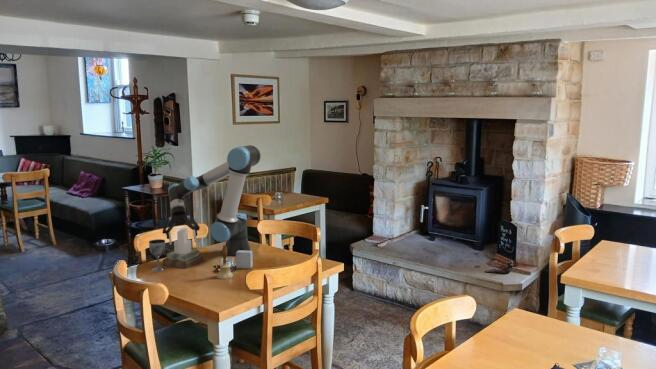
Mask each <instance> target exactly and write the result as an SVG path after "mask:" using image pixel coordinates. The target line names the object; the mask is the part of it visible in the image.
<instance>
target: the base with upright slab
mask: <svg viewBox="0 0 656 369" xmlns="http://www.w3.org/2000/svg"><path fill="white" fill-rule="evenodd" d="M188 232H189V231H188V227H182V228H180V229H179V230H178V231H177V233H176V234H177V235H176V236H177V239H175V240H174V241H173V247H174V248H173V251H174V253H176V254H187V253H190V252H191V251H192V240H191V239H189V238H188V237H189V235H188Z"/></svg>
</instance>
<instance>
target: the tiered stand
mask: <svg viewBox="0 0 656 369" xmlns="http://www.w3.org/2000/svg"><path fill="white" fill-rule="evenodd" d="M202 261H204V254H200V250H199V249H192V251H191V252H190V253H187V254H176V253H174V250H172V251H169V252H168V253H166V258H164V259H163V260H162V265H163V266H168V267H176V268H180V269H181V268H182V269H188V268H190V267H192V266H194V265H196V264H199V263H200V262H202Z"/></svg>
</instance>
